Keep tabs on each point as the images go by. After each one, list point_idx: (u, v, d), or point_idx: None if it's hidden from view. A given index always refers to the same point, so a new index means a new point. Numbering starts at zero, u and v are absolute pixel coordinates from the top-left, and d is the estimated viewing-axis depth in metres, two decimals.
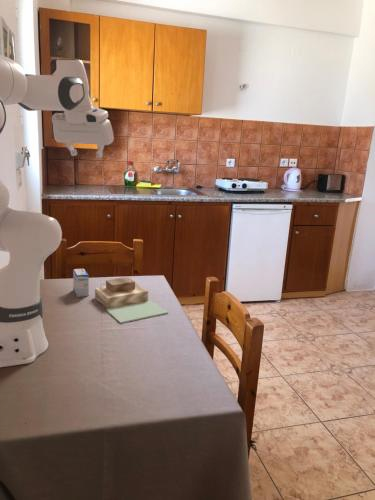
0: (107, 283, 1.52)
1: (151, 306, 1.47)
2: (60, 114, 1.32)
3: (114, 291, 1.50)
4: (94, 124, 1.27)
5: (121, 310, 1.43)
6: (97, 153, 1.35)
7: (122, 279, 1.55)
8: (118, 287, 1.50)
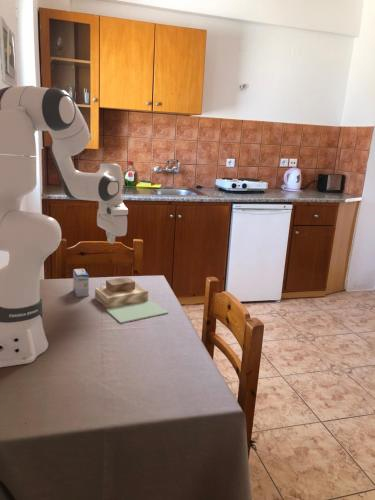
0: (107, 283, 1.52)
1: (151, 306, 1.47)
2: None
3: (114, 291, 1.50)
4: (110, 216, 1.48)
5: (121, 310, 1.43)
6: (109, 239, 1.56)
7: (122, 279, 1.55)
8: (118, 287, 1.50)
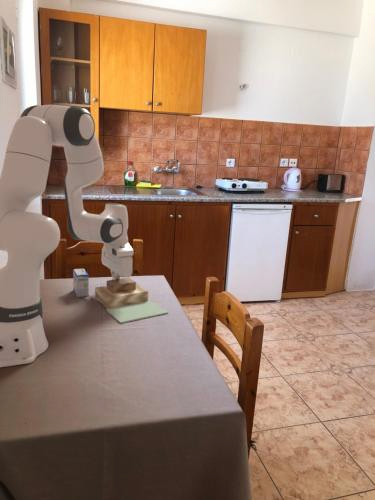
0: (108, 283, 1.52)
1: (151, 306, 1.47)
2: None
3: (115, 291, 1.49)
4: (116, 257, 1.47)
5: (121, 310, 1.43)
6: (114, 278, 1.55)
7: (123, 279, 1.54)
8: (119, 287, 1.50)
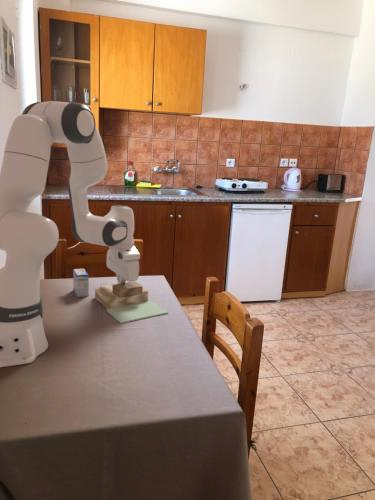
0: (114, 288, 1.48)
1: (151, 306, 1.47)
2: None
3: (121, 296, 1.45)
4: (122, 261, 1.43)
5: (121, 310, 1.43)
6: (119, 282, 1.51)
7: (129, 283, 1.51)
8: (126, 292, 1.46)
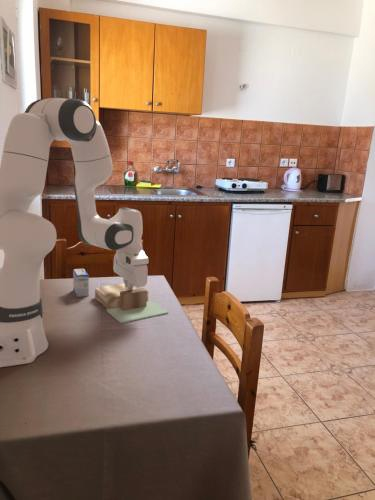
0: (122, 297, 1.42)
1: (151, 306, 1.47)
2: None
3: None
4: (130, 266, 1.38)
5: (121, 310, 1.43)
6: (127, 288, 1.46)
7: (138, 296, 1.45)
8: None
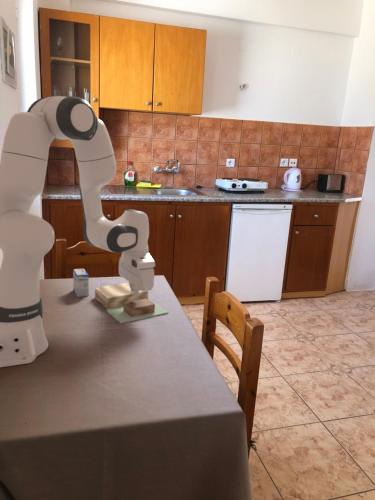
0: (129, 313, 1.39)
1: None
2: None
3: None
4: (136, 269, 1.35)
5: (121, 310, 1.43)
6: (133, 292, 1.43)
7: None
8: None
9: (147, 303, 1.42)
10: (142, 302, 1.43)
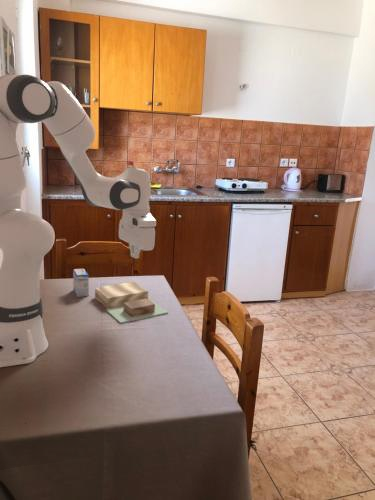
0: (129, 313, 1.39)
1: None
2: None
3: None
4: (137, 228, 1.31)
5: (121, 310, 1.43)
6: (133, 253, 1.39)
7: None
8: None
9: (147, 303, 1.42)
10: (142, 302, 1.43)
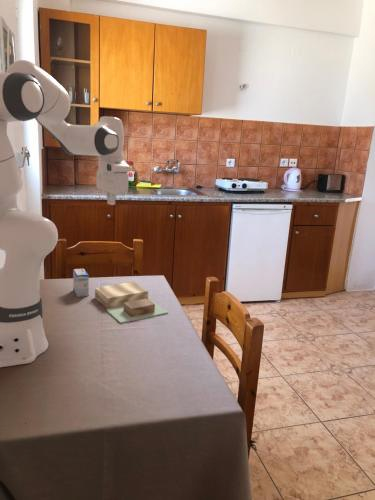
0: (129, 313, 1.39)
1: None
2: None
3: None
4: (111, 173, 1.39)
5: (121, 310, 1.43)
6: (109, 200, 1.47)
7: None
8: None
9: (147, 303, 1.42)
10: (142, 302, 1.43)
